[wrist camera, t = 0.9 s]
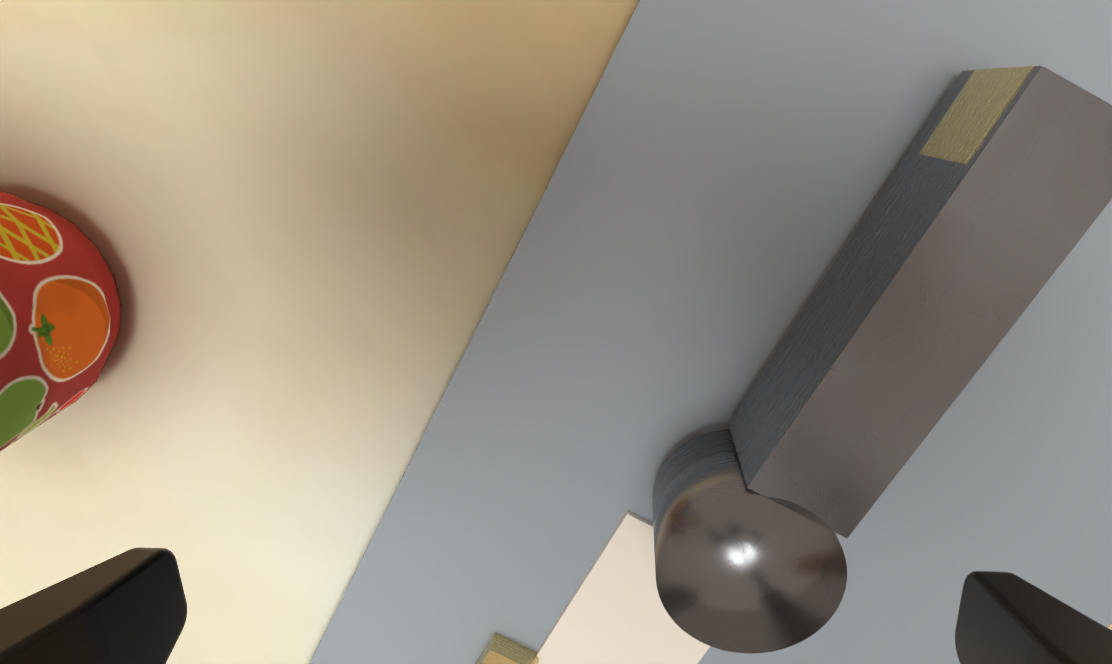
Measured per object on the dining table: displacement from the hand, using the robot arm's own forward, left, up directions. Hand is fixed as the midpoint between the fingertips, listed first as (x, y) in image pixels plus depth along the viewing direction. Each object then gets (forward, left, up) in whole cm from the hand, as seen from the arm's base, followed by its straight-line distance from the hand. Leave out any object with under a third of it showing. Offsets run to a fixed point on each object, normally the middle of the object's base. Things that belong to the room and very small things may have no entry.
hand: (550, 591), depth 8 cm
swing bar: (-6, -2, -11) cm, 13 cm away
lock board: (-7, +3, -13) cm, 15 cm away
